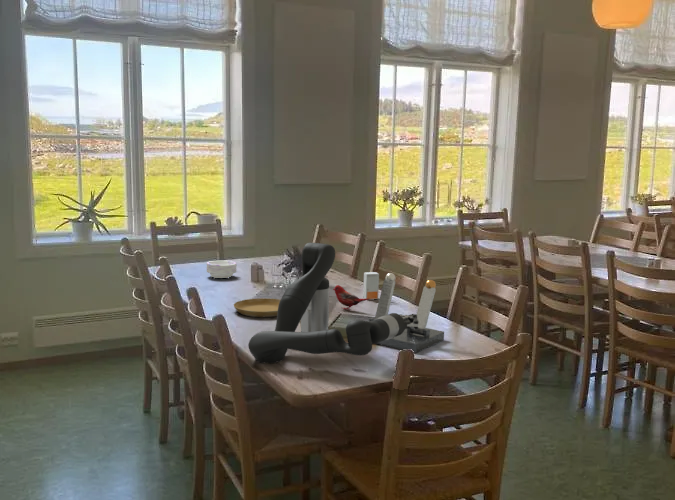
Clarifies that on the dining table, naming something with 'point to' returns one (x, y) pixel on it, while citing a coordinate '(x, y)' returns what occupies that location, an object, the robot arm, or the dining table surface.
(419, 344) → the switch panel
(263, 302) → the plant saucer
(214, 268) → the white footed bowl
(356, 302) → the decorative bird figurine
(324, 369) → the dining table surface
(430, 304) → the orange lever
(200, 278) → the dining table surface
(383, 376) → the dining table surface
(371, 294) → the skincare box
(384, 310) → the white lever
